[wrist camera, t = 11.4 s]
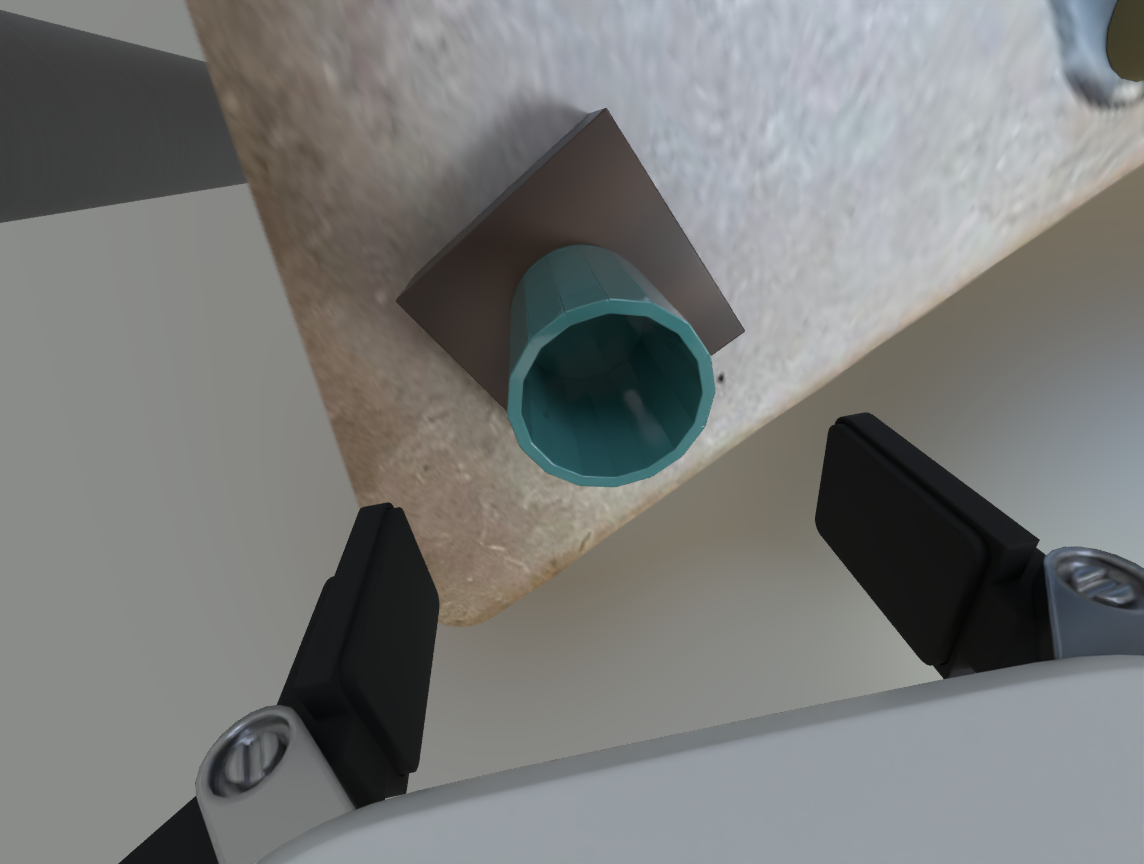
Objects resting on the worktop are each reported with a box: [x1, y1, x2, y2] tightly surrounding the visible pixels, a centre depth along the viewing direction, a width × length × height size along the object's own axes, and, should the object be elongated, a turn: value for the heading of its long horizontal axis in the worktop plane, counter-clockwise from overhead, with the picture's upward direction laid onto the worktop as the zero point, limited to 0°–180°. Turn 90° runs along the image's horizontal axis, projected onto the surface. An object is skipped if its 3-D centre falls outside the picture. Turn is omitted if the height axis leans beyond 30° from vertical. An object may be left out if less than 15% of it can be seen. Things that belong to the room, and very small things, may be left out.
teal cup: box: [507, 244, 715, 487], centre depth 20 cm, size 7×7×9 cm
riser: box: [396, 108, 745, 411], centre depth 26 cm, size 12×12×5 cm
